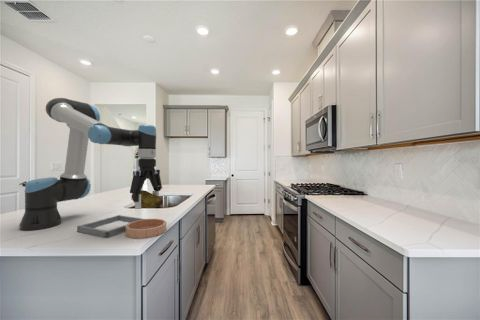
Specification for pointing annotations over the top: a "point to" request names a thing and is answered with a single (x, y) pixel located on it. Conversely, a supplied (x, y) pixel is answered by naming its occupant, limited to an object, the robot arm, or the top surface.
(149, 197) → the pear
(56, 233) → the top surface
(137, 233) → the bowl
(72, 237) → the top surface
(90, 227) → the tray
